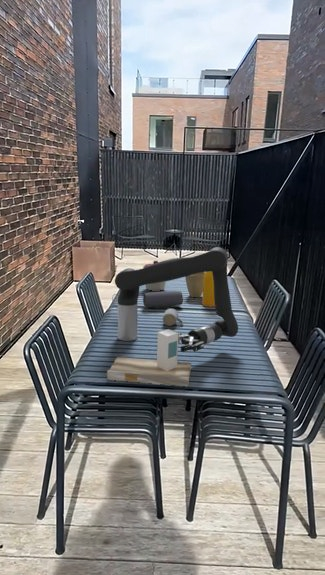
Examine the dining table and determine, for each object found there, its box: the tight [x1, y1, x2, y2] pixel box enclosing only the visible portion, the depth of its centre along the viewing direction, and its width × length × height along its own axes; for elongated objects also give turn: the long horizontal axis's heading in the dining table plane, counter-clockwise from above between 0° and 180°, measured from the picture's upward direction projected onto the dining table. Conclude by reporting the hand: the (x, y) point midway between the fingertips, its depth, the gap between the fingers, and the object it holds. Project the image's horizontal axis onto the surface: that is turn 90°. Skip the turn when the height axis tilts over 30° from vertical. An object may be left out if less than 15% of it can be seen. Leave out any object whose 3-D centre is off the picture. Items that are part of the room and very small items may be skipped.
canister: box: [142, 260, 167, 292], centre depth 275 cm, size 18×18×21 cm
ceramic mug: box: [162, 308, 184, 327], centre depth 205 cm, size 11×8×8 cm
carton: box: [156, 328, 179, 371], centre depth 149 cm, size 6×6×14 cm
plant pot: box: [184, 272, 205, 298], centre depth 261 cm, size 15×15×16 cm
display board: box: [106, 356, 192, 388], centre depth 149 cm, size 15×30×4 cm, turn 82°
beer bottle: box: [201, 271, 215, 308], centre depth 240 cm, size 9×9×29 cm
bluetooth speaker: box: [142, 290, 184, 309], centre depth 235 cm, size 23×9×10 cm, turn 108°
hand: (173, 346), depth 151 cm, fingers open, 8 cm apart
